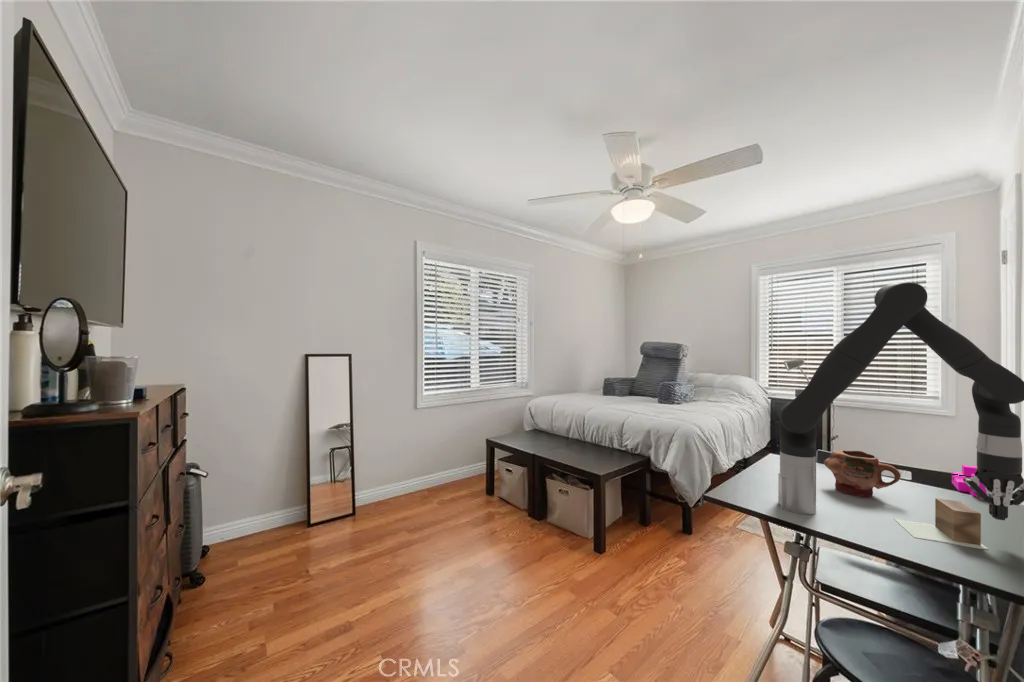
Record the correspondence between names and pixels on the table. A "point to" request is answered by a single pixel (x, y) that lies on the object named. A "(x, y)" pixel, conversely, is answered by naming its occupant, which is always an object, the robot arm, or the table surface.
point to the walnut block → (958, 521)
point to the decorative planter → (858, 472)
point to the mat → (931, 533)
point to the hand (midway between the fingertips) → (998, 518)
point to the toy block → (967, 471)
